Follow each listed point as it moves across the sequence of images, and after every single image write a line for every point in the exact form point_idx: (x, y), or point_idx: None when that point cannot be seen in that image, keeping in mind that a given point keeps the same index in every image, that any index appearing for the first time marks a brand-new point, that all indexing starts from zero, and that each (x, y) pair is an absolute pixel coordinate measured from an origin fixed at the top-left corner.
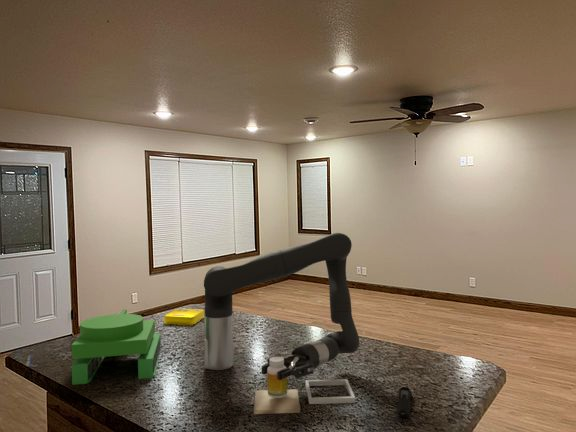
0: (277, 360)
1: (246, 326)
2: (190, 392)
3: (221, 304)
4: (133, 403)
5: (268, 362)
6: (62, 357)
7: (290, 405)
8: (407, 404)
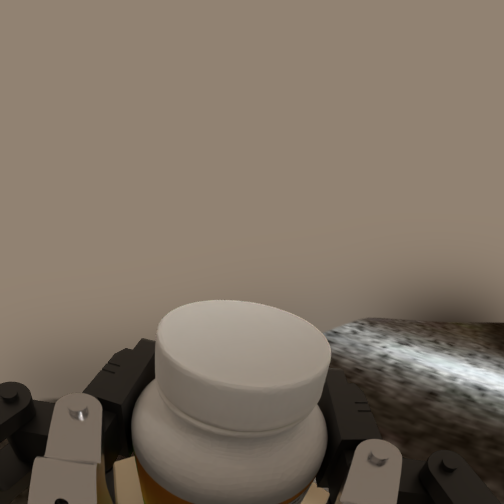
0: (208, 313)
1: None
2: (483, 401)
3: None
4: (460, 338)
5: (420, 465)
6: None
7: None
8: None
